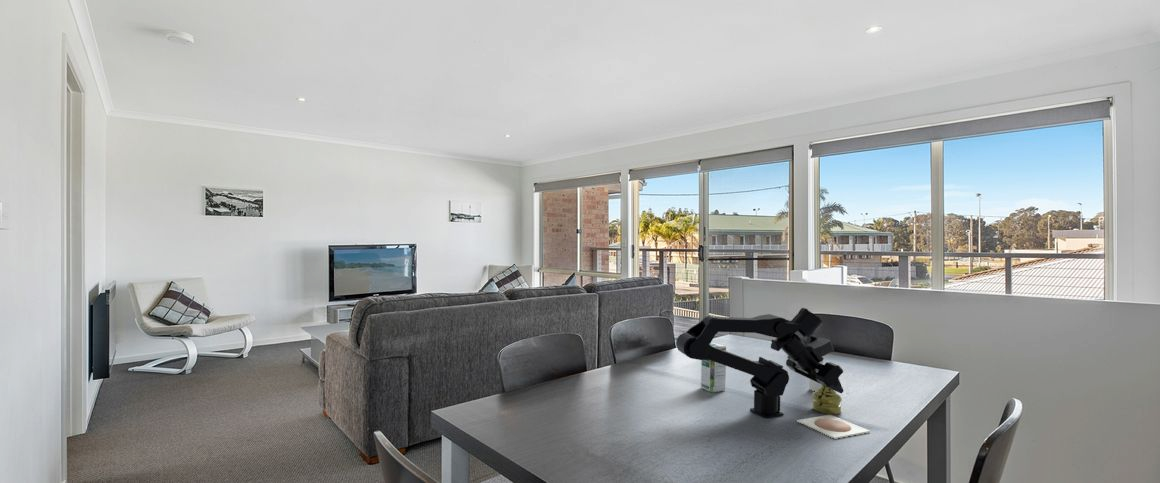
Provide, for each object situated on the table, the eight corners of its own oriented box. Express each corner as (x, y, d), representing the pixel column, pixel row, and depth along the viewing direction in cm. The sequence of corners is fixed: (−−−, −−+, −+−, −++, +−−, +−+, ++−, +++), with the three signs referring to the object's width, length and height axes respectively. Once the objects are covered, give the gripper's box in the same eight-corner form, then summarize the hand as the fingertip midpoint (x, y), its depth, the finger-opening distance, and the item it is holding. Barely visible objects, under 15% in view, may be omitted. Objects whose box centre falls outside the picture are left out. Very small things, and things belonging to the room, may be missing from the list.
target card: (834, 439, 121) (834, 437, 121) (796, 422, 132) (796, 419, 132) (869, 432, 126) (869, 430, 126) (830, 416, 137) (830, 414, 137)
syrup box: (700, 387, 161) (700, 343, 161) (714, 385, 164) (715, 342, 163) (711, 393, 156) (712, 347, 156) (726, 390, 158) (726, 345, 158)
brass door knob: (815, 404, 147) (816, 370, 147) (843, 409, 142) (844, 375, 142) (809, 410, 141) (809, 375, 141) (837, 417, 136) (838, 381, 136)
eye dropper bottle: (819, 388, 162) (819, 351, 162) (830, 393, 157) (830, 355, 156) (806, 388, 161) (807, 352, 161) (817, 394, 156) (818, 356, 156)
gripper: (837, 335, 131) (873, 375, 133) (796, 323, 150) (828, 358, 152) (809, 366, 130) (846, 406, 132) (771, 349, 149) (804, 385, 151)
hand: (831, 387), depth 142 cm, fingers open, 9 cm apart
